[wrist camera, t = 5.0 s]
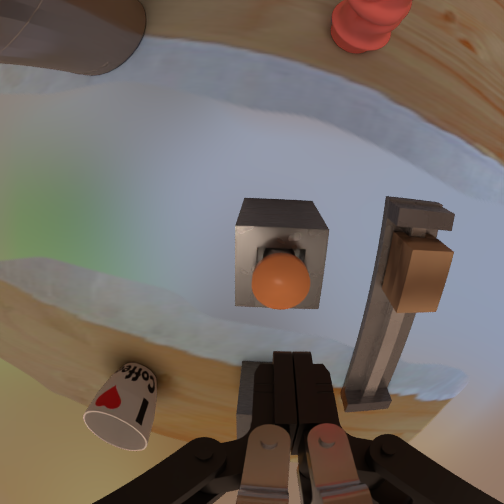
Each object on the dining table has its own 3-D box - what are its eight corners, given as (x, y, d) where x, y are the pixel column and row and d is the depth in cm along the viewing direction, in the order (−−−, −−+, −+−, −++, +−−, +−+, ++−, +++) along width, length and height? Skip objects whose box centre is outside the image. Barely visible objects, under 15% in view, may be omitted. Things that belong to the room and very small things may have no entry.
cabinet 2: (244, 197, 27) (235, 225, 19) (316, 201, 27) (335, 230, 19) (243, 260, 29) (235, 306, 22) (310, 262, 29) (323, 309, 21)
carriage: (393, 231, 26) (412, 249, 22) (431, 234, 26) (453, 252, 22) (381, 288, 28) (396, 313, 24) (418, 288, 28) (436, 311, 24)
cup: (174, 372, 36) (153, 434, 26) (159, 402, 39) (140, 457, 29) (117, 344, 35) (84, 400, 25) (108, 378, 38) (82, 430, 28)
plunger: (255, 233, 22) (252, 256, 18) (305, 235, 22) (313, 259, 18) (253, 278, 23) (250, 308, 19) (301, 279, 23) (306, 310, 19)
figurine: (342, 0, 19) (401, -89, 5) (388, 33, 20) (482, -25, 6) (312, 34, 21) (357, -53, 7) (360, 69, 22) (451, 20, 8)
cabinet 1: (242, 361, 34) (236, 414, 27) (296, 362, 34) (301, 415, 27) (242, 393, 36) (237, 443, 29) (291, 394, 36) (294, 444, 29)
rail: (386, 196, 26) (400, 205, 23) (437, 202, 26) (455, 212, 23) (340, 394, 36) (344, 413, 33) (381, 391, 36) (387, 409, 33)
